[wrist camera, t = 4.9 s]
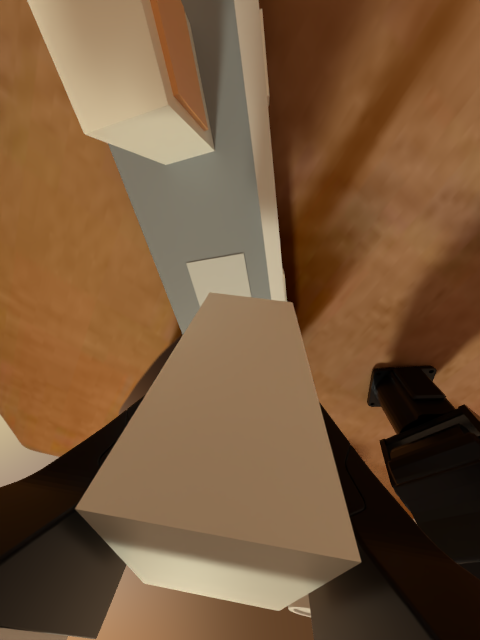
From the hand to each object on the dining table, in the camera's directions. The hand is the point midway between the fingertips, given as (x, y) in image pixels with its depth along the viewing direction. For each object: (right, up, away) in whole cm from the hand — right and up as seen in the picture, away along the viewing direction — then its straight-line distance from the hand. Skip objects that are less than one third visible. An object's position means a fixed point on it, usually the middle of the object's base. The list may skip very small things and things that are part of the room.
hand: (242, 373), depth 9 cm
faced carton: (-4, +17, +4) cm, 18 cm away
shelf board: (-3, +11, +9) cm, 15 cm away
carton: (0, +1, +2) cm, 2 cm away
